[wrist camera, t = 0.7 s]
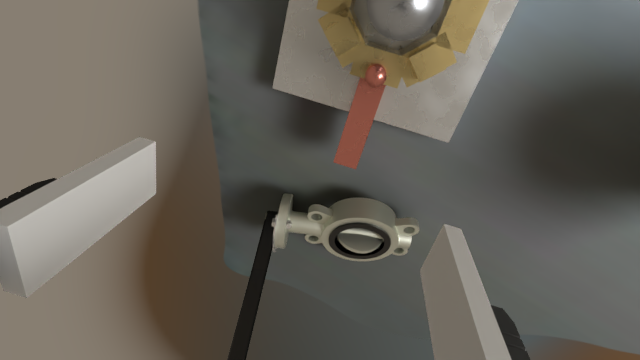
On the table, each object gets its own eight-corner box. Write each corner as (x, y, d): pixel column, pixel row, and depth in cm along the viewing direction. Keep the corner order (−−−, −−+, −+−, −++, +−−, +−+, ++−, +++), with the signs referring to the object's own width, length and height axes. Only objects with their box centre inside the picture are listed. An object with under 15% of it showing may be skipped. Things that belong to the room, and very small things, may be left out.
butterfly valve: (421, 193, 37) (270, 172, 37) (451, 402, 24) (212, 368, 24) (400, 236, 44) (271, 218, 44) (415, 421, 30) (226, 394, 30)
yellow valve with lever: (351, -106, 25) (344, -133, 20) (501, -61, 24) (531, -78, 20) (293, 135, 34) (279, 155, 29) (401, 169, 34) (405, 195, 29)
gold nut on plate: (330, -175, 25) (294, -310, 15) (560, -108, 25) (693, -197, 14) (279, 83, 35) (235, 115, 24) (444, 134, 34) (472, 189, 24)
